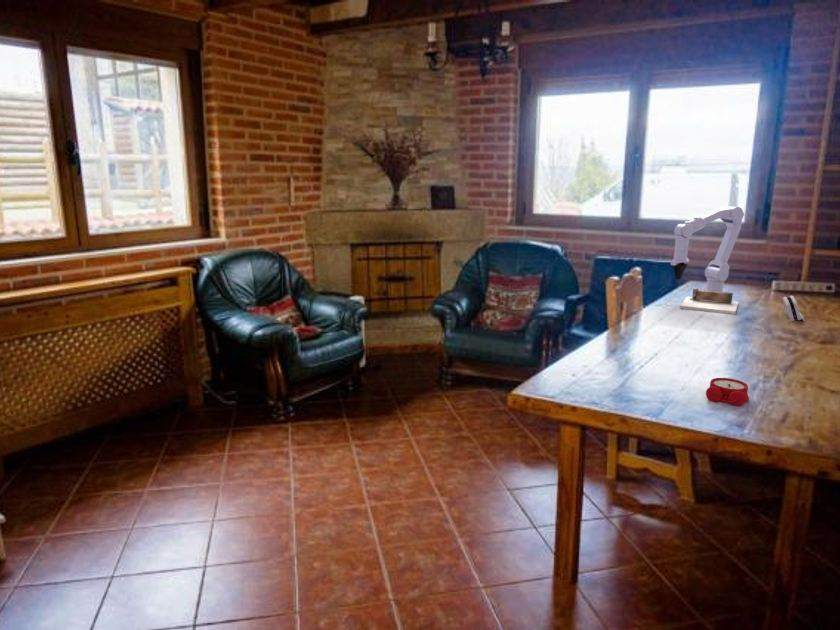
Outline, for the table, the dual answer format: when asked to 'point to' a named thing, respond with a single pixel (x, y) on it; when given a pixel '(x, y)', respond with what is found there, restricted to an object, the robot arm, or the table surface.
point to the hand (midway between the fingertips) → (678, 279)
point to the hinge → (792, 308)
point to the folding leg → (712, 295)
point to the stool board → (709, 305)
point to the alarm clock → (728, 391)
